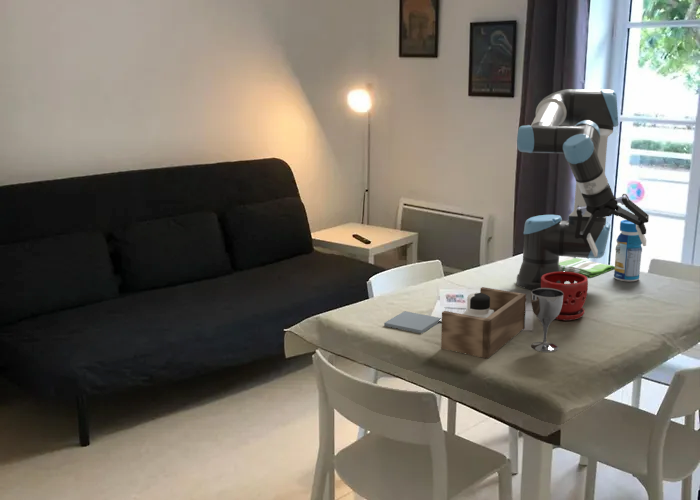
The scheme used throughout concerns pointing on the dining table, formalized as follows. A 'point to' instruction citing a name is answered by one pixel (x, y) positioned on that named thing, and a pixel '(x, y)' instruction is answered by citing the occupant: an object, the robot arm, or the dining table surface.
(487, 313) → the medicine bottle
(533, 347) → the wine glass
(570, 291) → the plant pot
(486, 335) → the walnut bay
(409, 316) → the grey pad
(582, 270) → the dish towel
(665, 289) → the dining table surface
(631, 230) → the beverage bottle
